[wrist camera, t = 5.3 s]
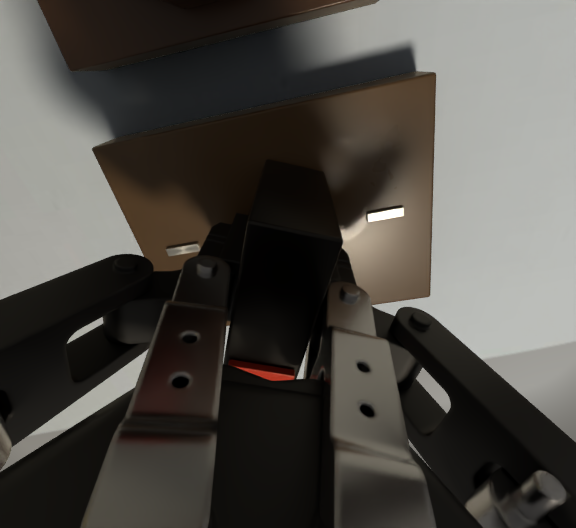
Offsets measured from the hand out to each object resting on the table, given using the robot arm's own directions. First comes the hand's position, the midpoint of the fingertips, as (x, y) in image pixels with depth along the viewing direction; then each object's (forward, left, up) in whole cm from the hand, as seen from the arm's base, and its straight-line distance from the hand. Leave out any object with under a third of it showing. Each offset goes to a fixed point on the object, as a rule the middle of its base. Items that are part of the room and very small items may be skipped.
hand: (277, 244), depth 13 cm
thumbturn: (0, 0, -1) cm, 1 cm away
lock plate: (0, 0, -3) cm, 3 cm away
